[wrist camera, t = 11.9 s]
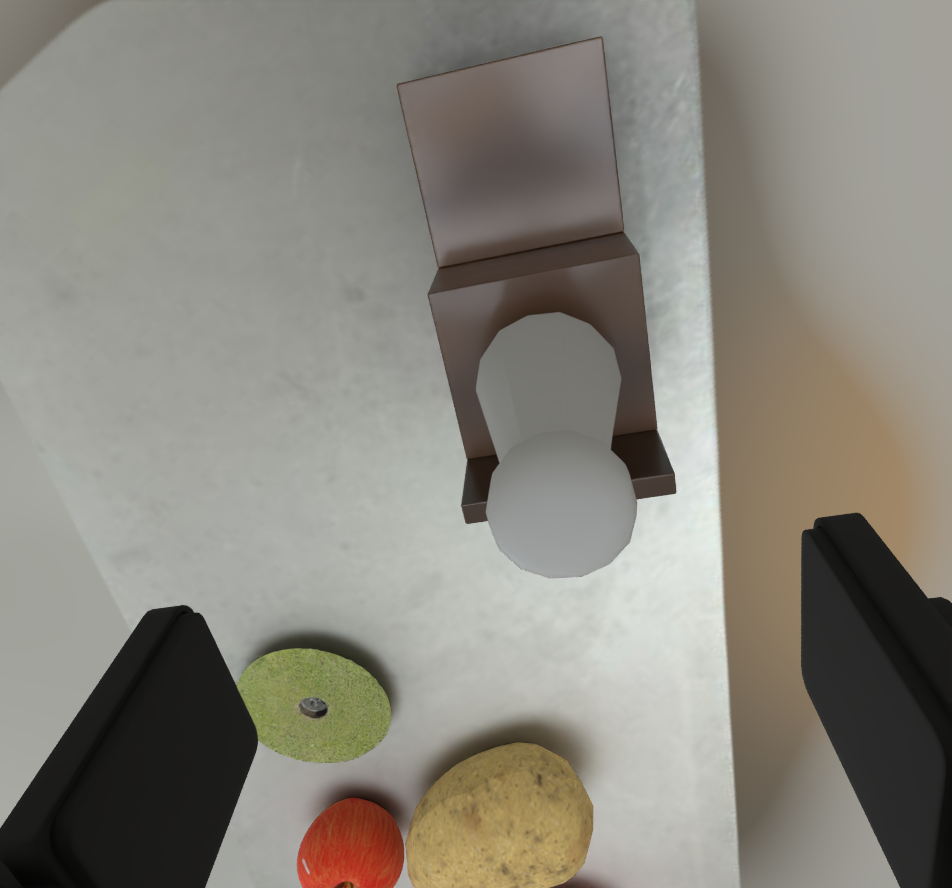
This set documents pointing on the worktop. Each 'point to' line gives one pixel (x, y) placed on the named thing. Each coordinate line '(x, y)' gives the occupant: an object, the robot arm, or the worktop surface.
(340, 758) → the mat
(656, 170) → the worktop surface
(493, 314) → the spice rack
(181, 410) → the worktop surface
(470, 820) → the potato
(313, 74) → the worktop surface
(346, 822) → the apple
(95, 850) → the robot arm
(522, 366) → the salt shaker
